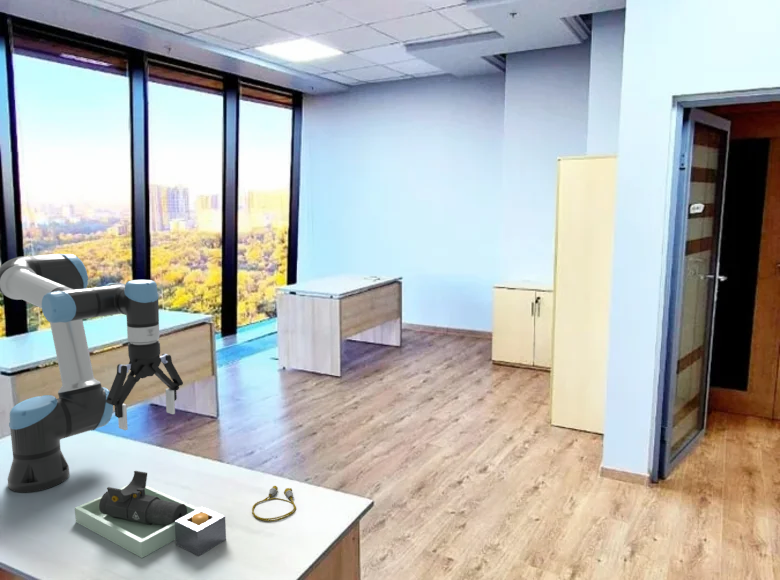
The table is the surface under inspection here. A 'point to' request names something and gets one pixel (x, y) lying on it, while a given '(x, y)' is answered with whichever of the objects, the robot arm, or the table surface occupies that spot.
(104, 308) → the robot arm
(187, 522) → the grey square holder
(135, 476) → the laser sight
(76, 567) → the table surface
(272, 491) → the extension cord
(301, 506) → the table surface
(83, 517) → the tray
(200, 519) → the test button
